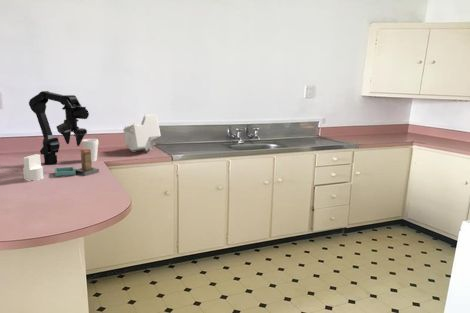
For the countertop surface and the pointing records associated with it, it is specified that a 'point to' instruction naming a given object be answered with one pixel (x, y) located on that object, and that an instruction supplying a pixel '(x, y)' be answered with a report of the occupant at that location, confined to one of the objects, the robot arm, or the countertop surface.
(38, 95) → the robot arm
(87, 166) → the pin
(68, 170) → the tray
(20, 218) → the countertop surface
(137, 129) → the white notched angular block
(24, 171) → the cylinder with rectangular tab
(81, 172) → the grey square flat frame
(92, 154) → the foam cup
